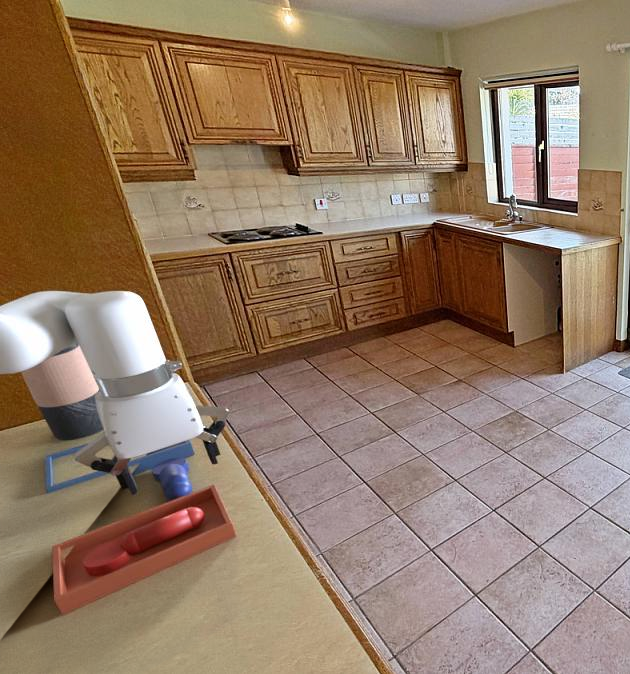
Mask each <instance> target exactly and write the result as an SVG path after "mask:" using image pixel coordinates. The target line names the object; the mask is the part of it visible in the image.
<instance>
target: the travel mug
mask: <svg viewBox="0 0 630 674" xmlns="http://www.w3.org/2000/svg"><path fill="white" fill-rule="evenodd" d="M20 373H21V375H22V378H23V380H24V381H25V384H26V386H27V388H28V391H29V392H30V394H31V397H32V398H33V400H34V402H35V404H36V406H37V408H38V410H39V411H40V412H39V413H40V414H41V415H42V417H43V419H44V421H45V423H46V424H47V426H48V428H49V429H50V431H51V433H52V435H53V436H54V438H55V439H56V440H59V441H73V440H79V439H83V438H86V437H89V436H93V435H95V434H98V433H100V432H102V431H104V429H103V426H102V423H101V421H100V418H99V414H98V411H97V406H96V400H95V395H96V394H97V393H98V392H100V390H99V388H98V385H97V383H96V381H95V379H94V376H93V374H92V372H91V370H90V368H89V366H88V363H87V361H86V359H85V357H84V355H83V353H82V350H81V348H80V346H79V344H78V343H77V344H75V345H73V346H71V347H68V348H66V349H64V350H61V351H60V352H58V353H56V354H55V355H53V356H51V357H50V358H48V359H46V360H44V361H43V362H41V363H39V364H38V365H36V366H34V367H32V368H30V369H27V370H24V371H21V372H20Z"/></svg>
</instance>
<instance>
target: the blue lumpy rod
mask: <svg viewBox="0 0 630 674" xmlns="http://www.w3.org/2000/svg"><path fill="white" fill-rule="evenodd" d="M189 470H190V466H189V464H188V460H187V459H186V458H171V459H168V460H165V461H163V462H161V463H159V464H157V465H156V466H155V467H154V468H153V469H151V473H152V476H153V478H154V481H156V482H157V483H158V482H159V483H160V485H161V488H162V491H163V494H164V497H165V499H166V500H168V502H169V501H172V500H175V499H177V498H180V497H182V496H185V495H188V494H190V493H193V486H192V484H191V481H190V479H189V476H188V474H187V473H188V472H189Z"/></svg>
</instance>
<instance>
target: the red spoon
mask: <svg viewBox="0 0 630 674" xmlns="http://www.w3.org/2000/svg"><path fill="white" fill-rule="evenodd" d="M203 520H204V513H203V511H202V510H201V509H199V508H197V507H189V508H186V509H183V510H181V511H178V512H176V513H173V514H171V515H168V516H166V517H163V518H161V519H158V520H156V521H153V522H151V523H148V524H146V525H143V526H141V527H138V528H136V529H133V530H131V531H129V532H128V533H126V534H125V535H124V536H123V538H122V540H118V541H112V542H109V543H106V544H104V545H101V546H99V547H97V548H96V549H94V550H93V551H91V552H90V553H89V554H88V555H87V556H86V557H85V558H84V560H83V566H84V568H85V570H86V572H87V573H88V574H89V575H91V576H101V575H105V574H108V573H111V572H113V571H115V570H117V569H119V568H121V567H122V566H124V565H125V564H126V563H127V562H128V561H129V560H130V559H131V558H132V556H133V553H139V552H142V551H144V550H146V549H149V548H151V547H153V546H156V545H158V544H160V543H163V542H165V541H167V540H170V539H172V538H174V537H177V536H179V535H181V534H184V533H186V532H188V531H191V530H193V529H195V528H197V527H198V526H200V525H201V523H202V522H203Z"/></svg>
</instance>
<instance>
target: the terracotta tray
mask: <svg viewBox="0 0 630 674" xmlns="http://www.w3.org/2000/svg"><path fill="white" fill-rule="evenodd" d="M189 507H197V508H199V509H201V510H202V511H203V513H204V520H203V522H202V523H201V525H200V526H198V527H197V528H195V529H193V530H191V531H188V532H186V533H184V534H181V535H179V536H177V537H174V538H172V539H170V540H167V541H165V542H163V543H160V544H158V545H156V546H153V547H151V548H149V549H146V550H144V551H142V552H139V553H133V556H132V558H131V559H130V560H129V561H128V562H127V563H126V564H125V565H124V566H122V567H121V568H119V569H117V570H115V571H113V572H111V573H108V574H105V575H101V576H91V575H89V574H88V573H87V572H86V570H85V568H84V566H83V560H84V558H85V557H86V556H87V555H88V554H89V553H90V552H91V551H93V550H94V549H96V548H97V547H99V546H101V545H104V544H106V543H109V542H112V541H118V540H122V538H123V536H124V535H125V534H126V533H128V532H129V531H131V530H133V529H136V528H138V527H141V526H143V525H146V524H148V523H151V522H153V521H156V520H158V519H161V518H163V517H166V516H168V515H171V514H173V513H176V512H178V511H181V510H183V509H186V508H189ZM236 537H237V533H236V530H235V527H234V524H233V522H232V520H231V518H230V516H229V513H228V510H227V509H226V507H225V504H224V502H223V500H222V498H221V496H220V493H219V492H218V489H217V487H216V485H215V484H211V485H209V486H206V487H203V488H200V489H198V490H196V491H192V493H190V494H188V495H185V496H182V497H180V498H177V499H175V500H172V501H169V500H168V501H167V502H164V503H162V504H159V505H157V506H154V507H151V508H149V509H145V510H143V511H141V512H139V513H136V514H132V515H130V516H128V517H125V518H123V519H120V520H117V521H115V522H112V523H110V524H106V525H104V526H102V527H98V528H97V529H94V530H91V531H88V532H86V533H83V534H81V535H78V536H76V537H73V538H70V539H68V540H67V539H66V540H65V541H63V542H59V543H57V544H54V545H52V547H51V548H52V572H53V573H52V577H53V601H54V604H55V605H56V607H57V608H58V611H59V612H60V613H61V615H62V616H64V615H67V614H69V613H71V612H73V611H75V610H77V609H80V608H82V607H84V606H87V605H88V604H90V603H93V602H95V601H97V600H99V599H101V598H104V597H106V596H108V595H110V594H113V593H115V592H117V591H119V590H121V589H124V588H126V587H128V586H130V585H132V584H134V583H137V582H140V581H141V580H144V579H146V578H147V577H150V576H152V575H154V574H156V573H160V572H161V571H163V570H165V569H168V568H170V567H172V566H174V565H176V564H179V563H181V562H183V561H185V560H187V559H189V558H192V557H194V556H196V555H198V554H201V553H203V552H205V551H207V550H209V549H212V548H214V547H216V546H218V545H220V544H222V543H225V542H227V541H229V540H231V539H233V538H236ZM68 548H71V550H70V551H69V552H68V553H67V555H66V556H65V557H64V558H63V557H62V556H63V555H62V551H63V550H66V549H68ZM62 559H63V560H62Z"/></svg>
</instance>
